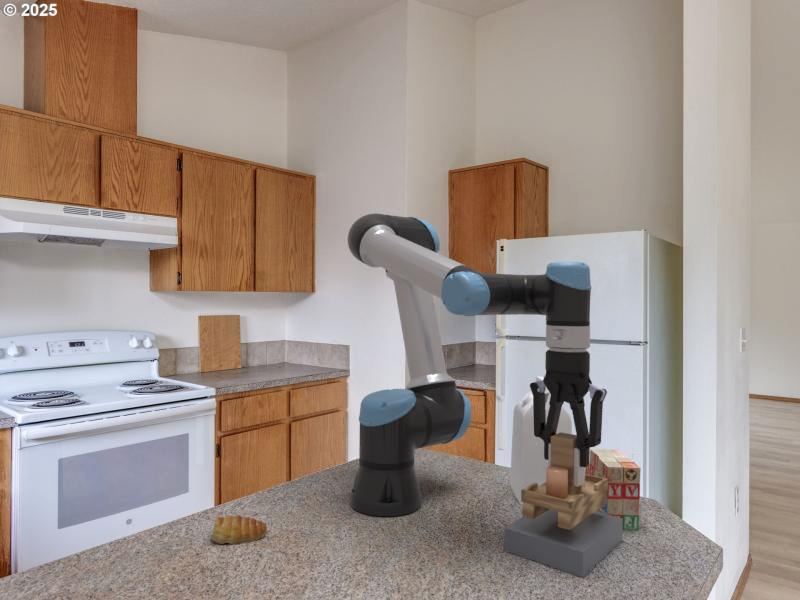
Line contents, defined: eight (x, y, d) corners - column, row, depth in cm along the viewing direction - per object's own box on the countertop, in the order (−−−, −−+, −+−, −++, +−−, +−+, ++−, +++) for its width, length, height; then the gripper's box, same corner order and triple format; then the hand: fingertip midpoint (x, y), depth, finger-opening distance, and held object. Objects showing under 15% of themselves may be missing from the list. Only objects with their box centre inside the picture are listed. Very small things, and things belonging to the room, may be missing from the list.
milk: (574, 505, 120) (576, 382, 120) (519, 504, 120) (521, 382, 120) (559, 486, 132) (560, 374, 132) (509, 485, 132) (511, 374, 132)
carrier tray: (571, 530, 91) (572, 450, 91) (521, 516, 97) (521, 440, 97) (607, 503, 103) (608, 432, 103) (560, 491, 109) (561, 424, 109)
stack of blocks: (578, 491, 129) (578, 437, 129) (606, 492, 128) (606, 438, 128) (606, 530, 107) (607, 465, 107) (639, 531, 107) (641, 466, 107)
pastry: (267, 528, 106) (267, 508, 106) (265, 544, 100) (265, 523, 100) (216, 531, 105) (216, 511, 105) (209, 548, 98) (210, 526, 98)
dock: (504, 550, 98) (504, 527, 98) (550, 520, 112) (550, 499, 112) (582, 577, 89) (583, 552, 89) (622, 540, 103) (622, 518, 103)
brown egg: (541, 495, 97) (542, 469, 97) (554, 490, 100) (554, 465, 99) (560, 500, 94) (560, 474, 94) (572, 496, 97) (572, 469, 97)
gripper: (513, 347, 103) (512, 476, 103) (608, 354, 92) (606, 498, 92) (533, 345, 108) (531, 467, 108) (624, 351, 97) (622, 487, 97)
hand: (566, 481), depth 100 cm, fingers closed on carrier tray, 4 cm apart
